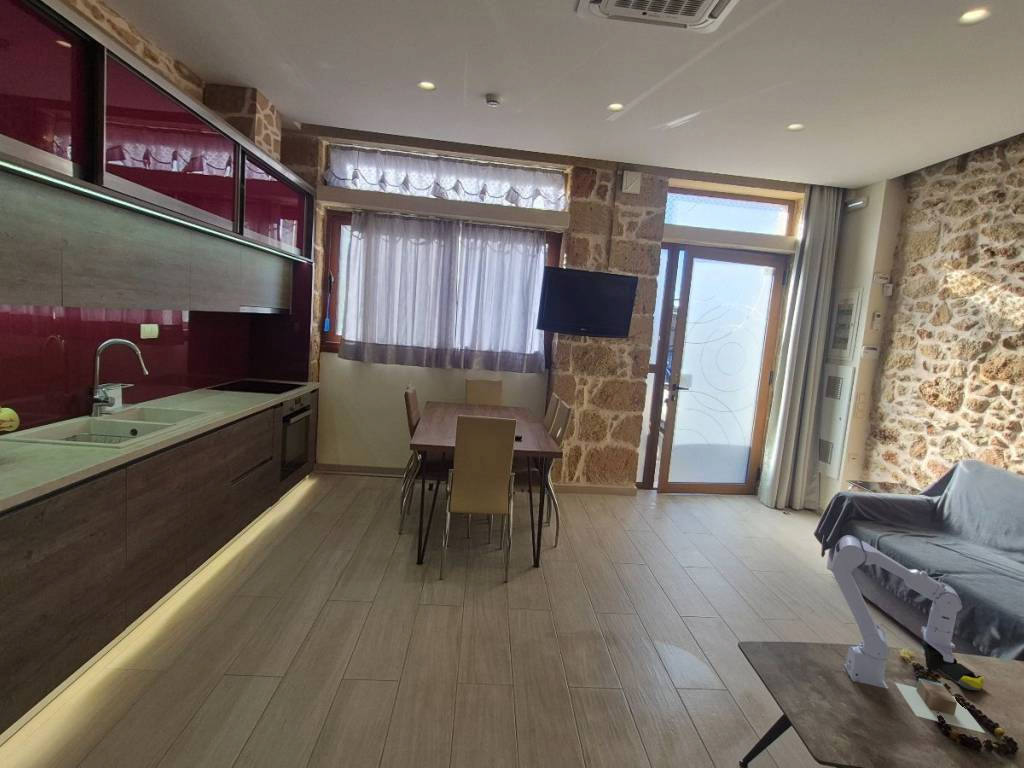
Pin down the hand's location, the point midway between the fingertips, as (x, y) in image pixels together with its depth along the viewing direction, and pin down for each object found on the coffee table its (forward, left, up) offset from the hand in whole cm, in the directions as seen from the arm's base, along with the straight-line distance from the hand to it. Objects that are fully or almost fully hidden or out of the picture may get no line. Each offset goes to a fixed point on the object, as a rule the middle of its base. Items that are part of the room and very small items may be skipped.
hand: (931, 669), depth 148 cm
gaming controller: (+14, +14, -10) cm, 22 cm away
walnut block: (+1, -6, -7) cm, 9 cm away
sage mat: (+1, -4, -9) cm, 10 cm away
